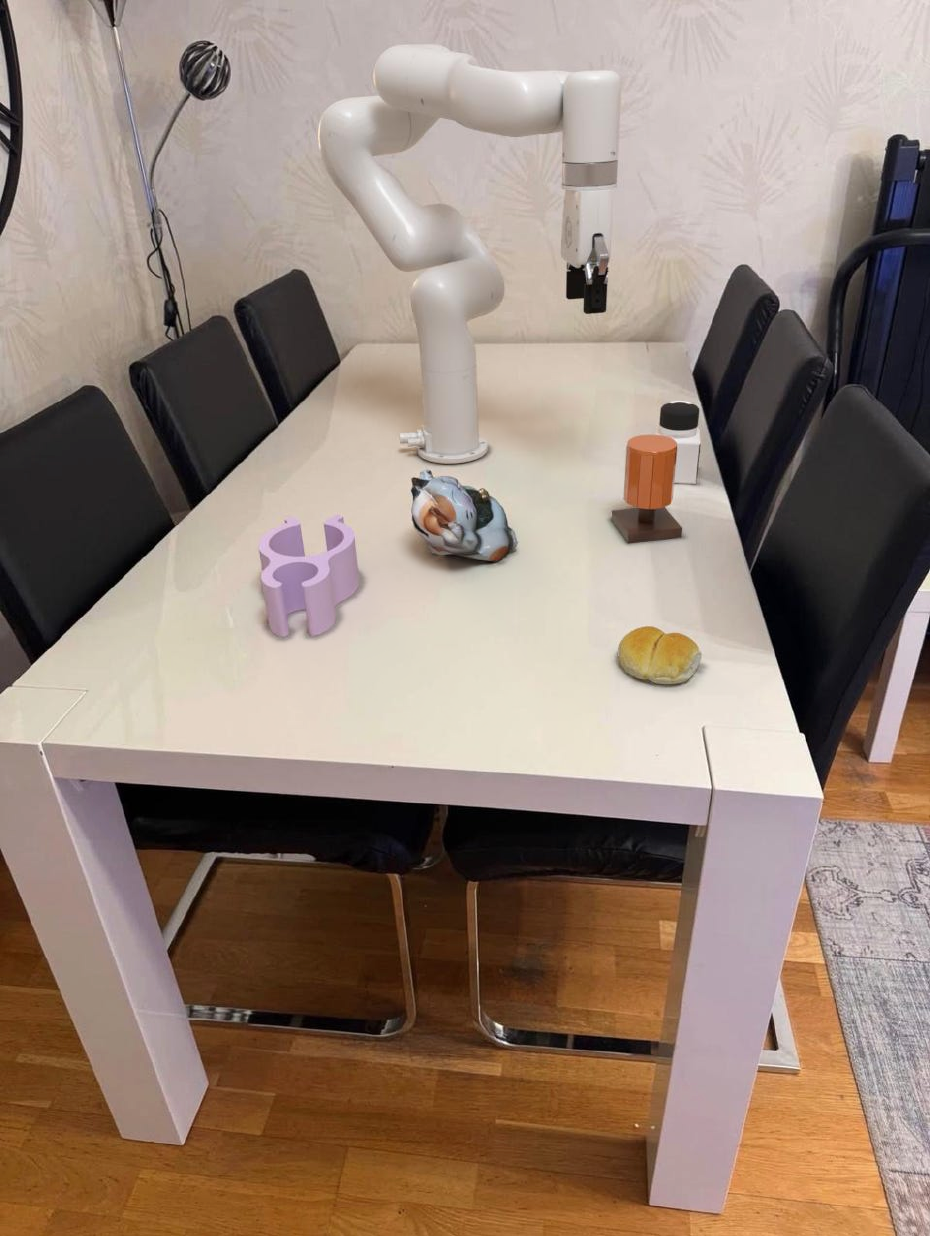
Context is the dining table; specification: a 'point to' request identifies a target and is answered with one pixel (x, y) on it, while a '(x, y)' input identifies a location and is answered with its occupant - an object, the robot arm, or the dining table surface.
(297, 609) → the clip
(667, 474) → the cup
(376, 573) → the dining table surface
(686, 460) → the medicine bottle
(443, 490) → the lucky cat figurine
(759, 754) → the dining table surface
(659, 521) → the stand
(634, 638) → the bread roll
